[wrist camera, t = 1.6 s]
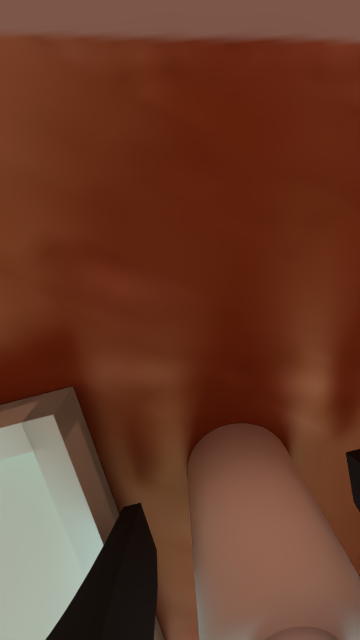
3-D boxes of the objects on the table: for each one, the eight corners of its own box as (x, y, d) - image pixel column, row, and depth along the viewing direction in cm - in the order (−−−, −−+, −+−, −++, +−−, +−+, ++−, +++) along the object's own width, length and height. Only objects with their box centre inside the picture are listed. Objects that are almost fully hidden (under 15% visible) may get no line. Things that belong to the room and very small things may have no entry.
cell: (297, 499, 13) (419, 741, 7) (200, 523, 13) (229, 782, 7) (279, 411, 12) (399, 594, 6) (175, 437, 12) (181, 643, 6)
